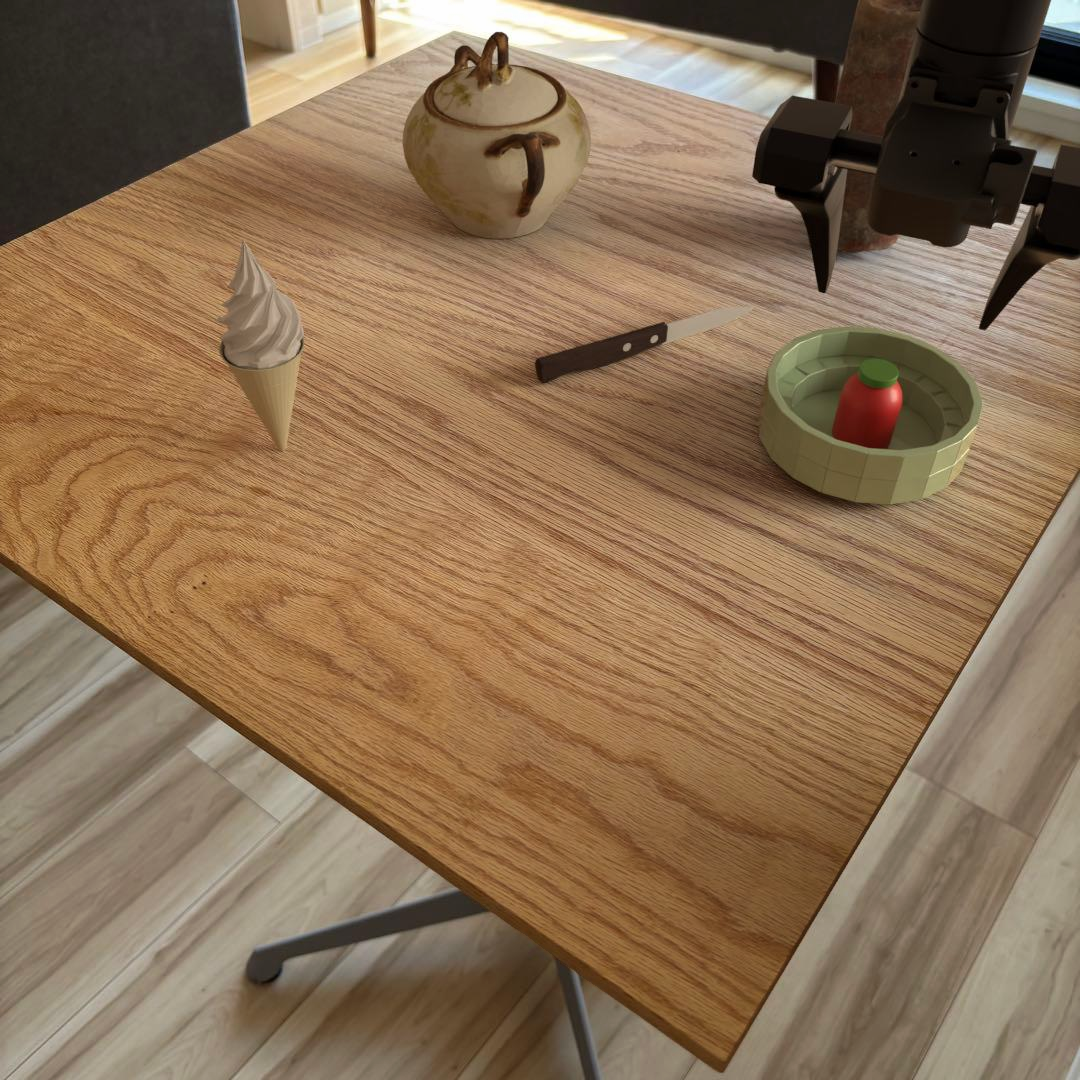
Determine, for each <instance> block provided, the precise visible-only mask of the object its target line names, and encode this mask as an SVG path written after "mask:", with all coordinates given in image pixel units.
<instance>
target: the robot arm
mask: <svg viewBox="0 0 1080 1080" xmlns="http://www.w3.org/2000/svg"><path fill="white" fill-rule="evenodd" d="M1051 3H1052V0H923V2H922V6H921V10H920V14H919V19H918V23H917V27H916V31H915V35H914V40H913V44H912V48H911V52H910V56H909V61H908V65H907V69H906V73H905V78H904V82H903V86H902V90H901V95H900V99H899V103H898V105H897V106H896V108H895V109H894V111H893V113H892V114H891V116H890V118H889V120H888V122H887V124H886V128H885V132H884V136H883V137H882V136H877V135H871V134H866V133H861V132H856V131H850V125H851V120H852V106H848V105H842V104H837V103H835V102H830V101H825V100H820V99H814V98H808V97H803V96H798V95H790V97H788V98H786V100H785V101H783V102H782V103H780V104H779V105H778V107H777V109H776V110H775V111H774V113H773V115H772V116H771V117H770V119H769V121H768V122H767V123H766V125H765V126H764V128H763V130H762V131H761V133H760V134H759V138H758V141H757V143H756V148H755V154H754V159H753V167H752V174H751V177H752V178H753V179H754V180H755V181H756V182H757V183H758V184H762V185H766V186H771V187H774V189H773V190H774V194H775V197H776V198H778V199H779V200H782V201H787V202H789V203H790V204H792V205H793V207H794V208H795V209H796V210H797V211H798V212H799V213H800V216H801V219H802V221H803V224H804V227H805V230H806V233H807V238H808V242H809V246H810V251H811V252H810V253H811V258H812V263H813V270H814V274H815V275H814V276H815V281H816V285H817V291H818V293H821V294H826V293H827V291H828V289H829V287H830V284H831V280H832V276H833V272H834V270H835V269H834V268H835V265H836V261H837V254H838V252H837V246H838V239H839V231H840V223H841V216H842V208H843V200H844V193H845V185H846V177H847V169H848V170H854V171H859V172H864V173H869V174H874V175H875V181H874V186H873V192H872V197H871V203H870V208H869V214H868V223H869V226H870V227H871V228H872V229H873V230H874V231H876V232H878V233H880V234H884V235H888V236H893V235H896V234H897V235H900V236H903V237H908V238H913V239H916V240H922V241H926V242H928V243H930V244H931V245H933V246H935V247H939V248H941V247H942V248H954V247H957V246H959V245H961V244H963V242H965V240H966V239H967V237H968V234H969V232H970V228H971V226H972V227H976V228H981V229H987V230H992V228H993V226H994V224H1003V225H1008V226H1012V225H1014V224H1015V221H1016V218H1017V216H1018V212H1019V210H1020V207H1021V205H1025V206H1030V208H1029V210H1028V212H1027V213H1026V215H1025V218H1024V220H1023V222H1022V224H1021V227H1020V229H1019V231H1018V233H1017V235H1016V237H1015V239H1014V241H1013V243H1012V245H1011V248H1010V250H1009V252H1008V254H1007V255H1006V258H1005V260H1004V262H1003V265H1002V267H1001V269H1000V271H999V273H998V274H997V277H996V279H995V280H994V284H993V286H992V288H991V289H990V292H989V295H988V297H987V300H986V303H985V306H984V310H983V312H982V314H981V315H982V316H981V319H980V322H979V324H978V325H979V326H978V330H981V331H987V329H988V328H989V327H990V326H991V325H992V324H993V322H994V321H995V320H996V319H997V318H998V316H999V315H1000V314H1001V313H1002V312H1003V310H1004V309H1005V308H1006V307H1007V306H1008V305H1009V304H1010V303H1011V301H1012V300H1013V298H1015V296H1016V295H1017V294H1018V293H1019V291H1020V290H1021V289H1022V288H1023V287H1024V286H1025V285H1026V284H1027V283H1028V281H1030V280H1031V278H1032V277H1034V276H1035V275H1036V274H1037V273H1038V272H1039V271H1040V270H1041V269H1043V268H1044V267H1045V266H1047V265H1049V264H1050V263H1053V262H1055V261H1057V260H1059V259H1060V260H1061V259H1063V260H1066V261H1067V260H1068V261H1076V260H1079V259H1080V147H1077V146H1071V145H1067V144H1060V145H1059V149H1058V150H1057V153H1056V156H1055V158H1054V161H1053V165H1052V167H1046V166H1041V165H1035V160H1036V157H1037V154H1038V151H1037V149H1034V148H1028V147H1022V146H1017V145H1012V143H1013V140H1011V139H1010V133H1011V131H1012V128H1013V125H1014V122H1015V117H1016V114H1017V111H1018V108H1019V105H1020V102H1021V98H1022V95H1023V93H1024V89H1025V86H1026V82H1027V79H1028V77H1029V73H1030V70H1031V66H1032V63H1033V60H1034V58H1035V53H1036V51H1037V49H1038V45H1039V40H1040V38H1041V35H1042V31H1043V29H1044V25H1045V23H1046V22H1045V21H1046V18H1047V15H1048V12H1049V10H1050V9H1049V8H1050V5H1051Z"/></svg>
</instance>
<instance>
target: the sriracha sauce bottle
mask: <svg viewBox="0 0 1080 1080" xmlns="http://www.w3.org/2000/svg"><path fill="white" fill-rule="evenodd" d="M898 374H899V372H898V369H897V367H896V366H895V365H894V364H892V363H891V362H889V361H886V360H883V359H877V358H872V359H867V360H865V361H863V362H862V363H861V364H860V366H859V370H858V372H857V373H855V374H854V375H852V376H851V377H850V378H849V379H848V380H847V381H846V383H845V384H844V386H843V388H842V391H841V394H840V398H839V403H838V407H837V411H836V415H835V419H834V423H833V427H832V436H833V438H835V439H837V440H840V441H844V442H848V443H851V444H855V445H859V446H863V447H866V448H875V449H886V448H887V447H888V446H889V445H890V443H891V439H892V436H893V433H894V429H895V426H896V423H897V419H898V416H899V412H900V409H901V405H902V390H901V387H900V385H899V383H898V382H897V378H898Z"/></svg>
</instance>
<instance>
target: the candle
mask: <svg viewBox="0 0 1080 1080" xmlns="http://www.w3.org/2000/svg"><path fill="white" fill-rule="evenodd" d="M922 2H923V0H857V4H856V9H855V13H854V17H853V22H852V25H851V30H850V33H849V38H848V43H847V48H846V51H845V57H844V61H843V66H842V71H841V75H840V78H839V84H838V88H837V93H836V97H835V101H834V103H837V104H842V105H848V106H852V120H851V125H850V131H856V132H861V133H866V134H871V135H877V136H882V137H883V136H884V132H885V128H886V124H887V122H888V120H889V118H890V116H891V114H892V113H893V111H894V109H895V108H896V106H897V105H898V103H899V99H900V95H901V90H902V86H903V82H904V78H905V73H906V69H907V65H908V61H909V56H910V52H911V48H912V44H913V40H914V35H915V31H916V27H917V23H918V19H919V14H920V10H921V6H922ZM874 181H875V175H874V174H869V173H864V172H859V171H854V170H848V169H847V177H846V185H845V193H844V200H843V208H842V216H841V223H840V231H839V239H838V246H837V253H839V254H840V253H843V252H844V253H846V254H847V253H849V254H856V253H860V252H872V251H873V252H875V251H884V250H888V249H889V248H891V247H892V246H893V245H894V244H896V243H897V242H898V239H899V238H900V236H901V235H897V234H896V235H893V236H888V235H884V234H880V233H878V232H876V231H874V230H873V229H872V228H871V227H870V226H869V223H868V214H869V208H870V203H871V197H872V192H873V186H874Z"/></svg>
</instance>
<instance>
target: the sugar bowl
mask: <svg viewBox="0 0 1080 1080" xmlns="http://www.w3.org/2000/svg"><path fill="white" fill-rule="evenodd" d="M509 39H510V38H509V35H507V34H506V33H505V32H504V31H495V32H493V33H492V34H491V35H490V36H489V38H488V39H487V40H486V42H485V44H484V47H483V50H482V53H481V55H479V54H478V53H477V52H476V51H475V50H474V49H472V47H470V46H469V45H467V44H465V45H464V44H463V45H460V46H459V47H457V48H456V49H455V52H454V56H453V57H454V59H453V61H454V62H453V63H454V64H453V66H452V67H451V68H450V70H449V71H448V72H447V73H445V74H443V75H441V76H440V77H437V78H436V79H435V80H433V81H432V82H431V83H430V84H429V85H428V86H427V87H426V89H425V91H424V93H423V94H421V96H420V97H419V98H418V99H417V101H415V102H414V104H413V105H412V107H411V109H410V111H409V113H408V115H407V117H406V119H405V122H404V127H403V131H402V149H403V156H404V159H405V163H406V165H407V169H408V170H409V172H410V174H411V175H412V177H413V179H414V180H415V182H416V183H417V186H419V188H421V190H422V191H423V192H424V193H425V195H426V196H427V197H428V198H429V199H430V200H431V201H432V202H433V203H434V205H435V206H437V208H438V209H440V210H441V212H443V213H444V214H445V216H446V217H447V218H448V219H449V220H450V222H451V223H452V224H453V225H454V226H456V228H457V229H459V230H461V231H462V232H465V233H466V234H468V235H472V236H476V237H479V238H486V239H492V240H493V239H494V240H499V239H513V238H519V237H523V236H527V235H529V234H532V233H534V232H536V231H538V230H540V229H541V228H542V227H543V226H544V225H545V224H546V222H547V221H548V219H549V218H550V217H551V215H552V214H553V212H554V211H556V209H557V208H558V207H559V206H560V205H561V204H562V203H563V201H564V200H565V199H566V198H567V197H568V195H569V194H570V193H571V191H573V189H574V187H575V186H576V185H577V183H578V182H579V180H580V178H581V177H582V175H583V172H584V170H585V168H586V166H587V164H588V162H589V161H588V160H589V156H590V153H591V147H592V142H591V141H592V139H591V130H590V126H589V122H588V118H587V116H586V114H585V112H584V109H583V108H582V106H581V104H580V103H579V102H578V100H577V99H576V98H575V97H574V96H573V95H572V94H571V92H569V91H568V90H567V89H566V88H565V87H564V86H563V84H562V83H561V82H560V81H559V80H558V79H556V78H555V77H553V76H552V75H550V74H548V73H547V72H544V71H542V70H539V69H536V68H533V67H529V66H524V65H518V64H510V63H509V62H510V57H509V55H510V53H509V52H510V51H509V47H510V46H509ZM495 51H496V53H497V54H496V56H497V60H496V62H497V63H496V64H494V63H493V58H494V53H495ZM469 62H471V63H472V64H473V66H469Z"/></svg>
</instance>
